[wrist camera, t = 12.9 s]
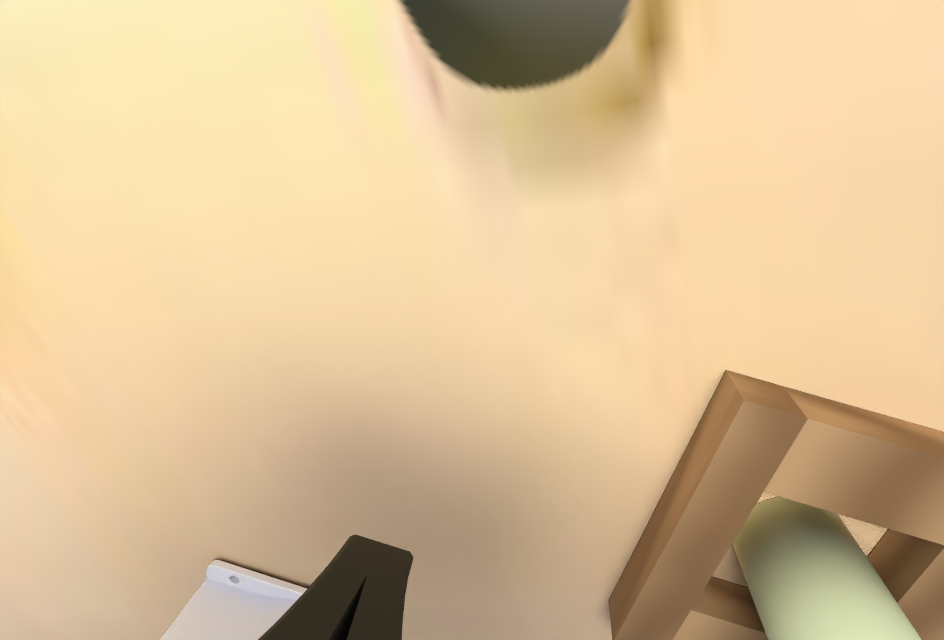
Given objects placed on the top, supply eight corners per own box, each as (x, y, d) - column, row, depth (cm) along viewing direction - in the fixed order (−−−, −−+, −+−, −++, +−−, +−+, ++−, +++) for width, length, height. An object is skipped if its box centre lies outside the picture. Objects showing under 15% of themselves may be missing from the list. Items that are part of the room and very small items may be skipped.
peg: (714, 558, 21) (793, 796, 14) (759, 483, 20) (874, 707, 12) (813, 587, 21) (945, 845, 14) (866, 514, 19) (1048, 762, 12)
